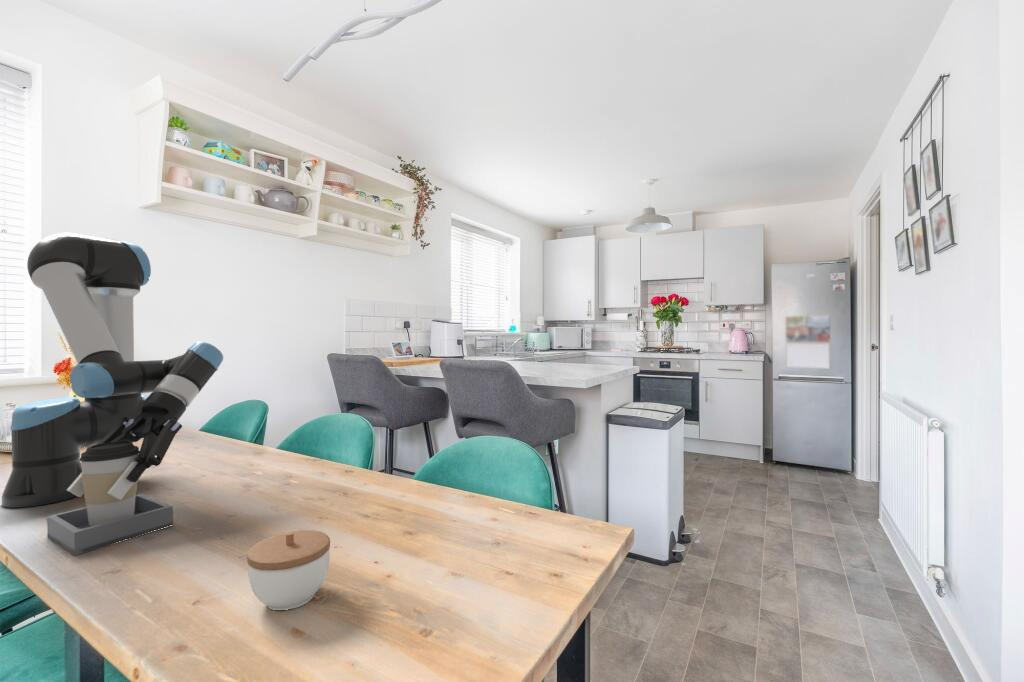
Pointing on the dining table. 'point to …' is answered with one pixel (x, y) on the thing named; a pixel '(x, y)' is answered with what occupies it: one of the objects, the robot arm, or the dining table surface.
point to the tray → (107, 526)
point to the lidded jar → (288, 568)
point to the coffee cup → (107, 480)
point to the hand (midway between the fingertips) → (93, 494)
